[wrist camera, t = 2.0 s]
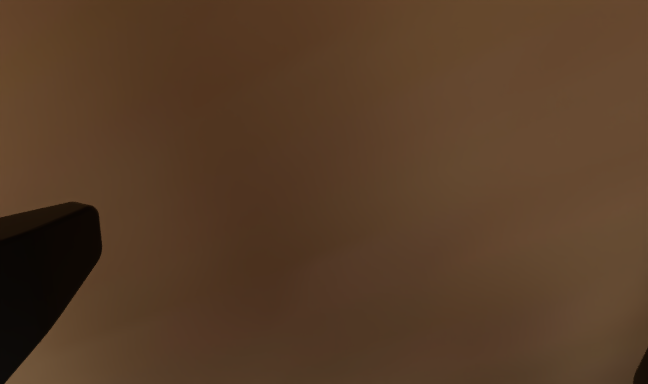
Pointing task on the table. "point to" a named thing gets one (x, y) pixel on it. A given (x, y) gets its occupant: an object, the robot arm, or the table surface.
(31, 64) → the table surface
